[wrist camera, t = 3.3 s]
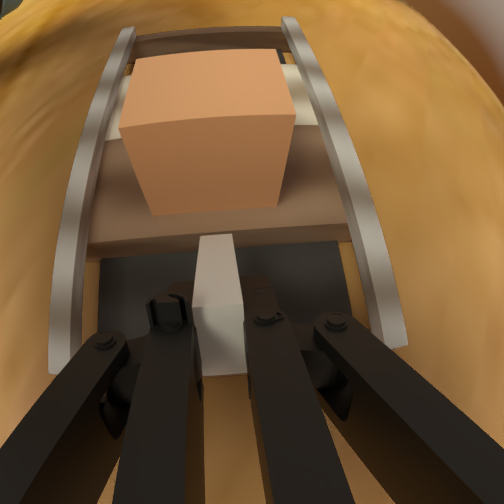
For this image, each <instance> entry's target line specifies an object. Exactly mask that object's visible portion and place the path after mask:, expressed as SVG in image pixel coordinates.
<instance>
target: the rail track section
mask: <svg viewBox="0 0 504 504" xmlns="http://www.w3.org/2000/svg"><path fill="white" fill-rule="evenodd" d="M230 49H276V52H277V55H278V58H279V61H280V64H281V67H282V70H283V73H284V76H285V79H286V82H287V86H288V89H289V92H290V95H291V98H292V102H293V105H294V108H295V112H296V119H295V123H294V128H293V133H292V138H291V143H290V147H289V152H288V157H287V162H286V166H285V171H284V176H283V181H282V185H281V190H280V195H279V199H278V204H277V207H263V208H248V209H233V210H219V211H206V212H194V213H182V214H171V215H160V216H152V213H151V211H150V209H149V206H148V204H147V201H146V199H145V197H144V194H143V192H142V189H141V187H140V184H139V182H138V179H137V177H136V174H135V172H134V169H133V167H132V164H131V161H130V159H129V156H128V154H127V151H126V148H125V146H124V143H123V140H122V138H121V135H120V132H119V130H118V126H119V122H120V117H121V113H122V109H123V105H124V101H125V97H126V93H127V89H128V86H129V82H130V79H131V75H129V76H124V77H123V73H124V70H125V67H126V64H128V63H133V62H135V61H136V59H140V58H147V57H154V56H161V55H169V54H177V53H187V52H198V51H211V50H230ZM282 52H292V55H293V57H294V60H295V62H296V65H294V64H286V62H285V60H284V57H283V54H282ZM220 234H232V237H233V244H234V250H235V256H236V262H237V269H238V275H239V277H241V276H253V275H263V276H265V277H266V278H267V279H269V280H270V283H271V286H272V289H273V291H274V294H275V297H276V300H277V303H278V306H279V308H280V310H281V311H283V312H285V314H286V315H287V316H288V319H289V321H291V322H294V323H298V324H305V325H314V321H315V319H316V318H317V317H318V316H319V315H322V314H324V313H329V312H341V313H344V314H348V315H350V316H352V311H351V306H350V301H349V296H348V290H347V285H346V281H345V276H344V271H343V266H342V261H341V257H340V252H339V248H338V243H339V242H352V243H353V247H354V251H355V255H356V260H357V264H358V268H359V273H360V277H361V282H362V286H363V291H364V296H365V301H366V306H367V311H368V316H369V322H370V327H371V329H368V330H369V331H370V332H371V333H372V334H373V335H375V336H376V337H377V338H378V339H379V340H380V341H382V342H383V343H384V344H385V345H386V346H387V347H389V348H390V349H391V350H394V349H397V348H400V347H403V346H406V345H409V344H408V339H407V333H406V328H405V323H404V318H403V313H402V309H401V304H400V299H399V295H398V291H397V286H396V282H395V278H394V274H393V270H392V266H391V262H390V258H389V255H388V251H387V247H386V244H385V240H384V236H383V233H382V229H381V226H380V223H379V219H378V216H377V213H376V210H375V206H374V203H373V200H372V197H371V194H370V191H369V188H368V185H367V182H366V179H365V176H364V173H363V170H362V168H361V165H360V162H359V159H358V156H357V154H356V151H355V148H354V146H353V143H352V140H351V138H350V135H349V133H348V130H347V128H346V125H345V123H344V120H343V118H342V115H341V113H340V111H339V108H338V106H337V104H336V101H335V99H334V97H333V94H332V92H331V90H330V87H329V85H328V83H327V81H326V79H325V76H324V74H323V72H322V70H321V68H320V66H319V64H318V62H317V60H316V57H315V55H314V53H313V51H312V49H311V47H310V45H309V43H308V41H307V39H306V38H305V36H304V34H303V32H302V30H301V28H300V26H299V24H298V22H297V20H296V19H295V17H282V21H281V27H276V26H233V27H211V28H197V29H186V30H177V31H169V32H161V33H154V34H147V35H141V36H136V31H135V26H133V27H128V28H123V29H122V30H121V32H120V34H119V37H118V39H117V41H116V43H115V45H114V48H113V50H112V52H111V54H110V57H109V59H108V62H107V64H106V66H105V69H104V71H103V74H102V76H101V79H100V82H99V84H98V87H97V90H96V92H95V95H94V98H93V101H92V103H91V106H90V109H89V112H88V115H87V118H86V121H85V125H84V128H83V131H82V134H81V138H80V141H79V145H78V148H77V152H76V155H75V159H74V163H73V167H72V171H71V175H70V179H69V183H68V188H67V192H66V197H65V202H64V207H63V212H62V217H61V222H60V228H59V234H58V241H57V247H56V254H55V262H54V270H53V279H52V289H51V302H50V317H49V345H48V371H49V374H54V375H58V374H59V373H60V372H61V370H62V369H63V368H64V367H65V365H66V364H67V363H68V362H69V361H70V360H71V358H72V357H73V356H74V355H75V354H76V352H77V351H78V350H79V349H80V348H81V335H82V302H83V285H84V272H85V262H94V261H101V266H100V282H99V305H98V332H100V331H104V330H117V331H120V332H122V333H123V334H124V335H125V337H126V341H127V340H131V339H135V338H139V337H142V336H145V335H147V334H148V333H149V330H150V324H149V320H148V315H147V311H146V306H145V303H146V302H147V300H148V299H149V298H151V297H153V296H154V295H157V294H160V293H165V292H167V288H169V287H170V286H171V285H172V284H173V283H174V282H186V281H195V274H196V266H197V258H198V250H199V242H200V236H206V235H220ZM236 375H247V373H240V374H228V375H214V376H203V374H202V378H210V377H224V376H236Z"/></svg>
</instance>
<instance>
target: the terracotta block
mask: <svg viewBox="0 0 504 504" xmlns="http://www.w3.org/2000/svg"><path fill="white" fill-rule="evenodd" d="M295 119H296V112H295V108H294V105H293V102H292V98H291V95H290V92H289V89H288V86H287V82H286V79H285V76H284V73H283V70H282V67H281V64H280V61H279V58H278V55H277V52H276V49H230V50H211V51H198V52H187V53H177V54H169V55H161V56H154V57H147V58H140V59H136V61H135V65H134V68H133V72H132V75H131V79H130V82H129V86H128V89H127V93H126V97H125V101H124V105H123V109H122V113H121V117H120V122H119V126H118V130H119V132H120V135H121V138H122V140H123V143H124V146H125V148H126V151H127V154H128V156H129V159H130V161H131V164H132V167H133V169H134V172H135V174H136V177H137V179H138V182H139V184H140V187H141V189H142V192H143V194H144V197H145V199H146V201H147V204H148V206H149V209H150V211H151V213H152V216H160V215H171V214H182V213H194V212H206V211H219V210H233V209H248V208H263V207H277V204H278V199H279V195H280V190H281V185H282V181H283V176H284V171H285V166H286V162H287V157H288V152H289V147H290V143H291V138H292V133H293V128H294V123H295Z"/></svg>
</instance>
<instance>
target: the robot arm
mask: <svg viewBox="0 0 504 504" xmlns="http://www.w3.org/2000/svg"><path fill="white" fill-rule="evenodd" d="M22 1H23V0H0V20H1V19H2V17H4V16H5V15H7V14H9V13H10V12H12V11H13V10H15V9H16V8H17V7H19V6H20V4H21V3H22ZM145 306H146V311H147V315H148V320H149V324H150V330H149V333H148V334H147V335H145V336H142V337H139V338H135V339H131V340H127V341H126V337H125V335H124V334H123V333H122V332H120V331H117V330H104V331H100V332H98V333H96V334H94V335H92V336H91V337H90V338H89V339H88V340H87V341H86V342H85V343H84V344H83V345H82V347H81V348H80V349H79V350H78V351H77V352H76V354H75V355H74V356H73V357H72V358H71V360H70V361H69V362H68V363H67V364H66V365H65V367H64V368H63V369H62V370H61V372H60V373H59V374H58V375H57V376H56V378H55V379H54V380H53V381H52V382H51V384H50V385H49V386H48V387H47V389H46V390H45V391H44V392H43V394H42V395H41V396H40V397H39V399H38V400H37V401H36V402H35V404H34V405H33V406H32V407H31V409H30V410H29V411H28V413H27V414H26V415H25V416H24V418H23V419H22V420H21V422H20V423H19V424H18V426H17V427H16V428H15V430H14V431H13V432H12V434H11V435H10V436H9V438H8V439H7V440H6V442H5V443H4V444H3V446H2V447H1V448H0V504H97V502H98V500H99V498H100V496H101V493H102V491H103V489H104V487H105V485H106V483H107V481H108V479H109V477H110V475H111V473H112V471H113V469H114V467H115V465H116V463H117V461H118V459H119V457H120V460H119V466H118V471H117V477H116V483H115V489H114V495H113V502H112V504H205V477H204V408H203V398H204V387H203V381H202V374H203V376H214V375H228V374H240V373H247V375H248V390H249V399H250V400H251V407H252V414H253V421H254V428H255V434H256V441H257V448H258V454H259V461H260V467H261V473H262V480H263V486H264V492H265V498H266V504H355V501H354V499H353V496H352V493H351V490H350V487H349V484H348V482H347V479H346V476H345V473H344V470H343V467H342V465H341V462H340V459H339V456H338V453H337V451H336V448H335V445H334V442H333V439H332V437H331V434H330V431H329V428H328V426H327V423H326V420H325V417H324V414H323V412H322V409H323V410H324V412H325V413H326V415H327V416H328V417H329V419H330V420H331V421H332V422H333V424H334V425H335V426H336V428H337V429H338V430H339V432H340V433H341V434H342V436H343V437H344V438H345V440H346V441H347V442H348V444H349V445H350V446H351V447H352V449H353V450H354V451H355V453H356V454H357V455H358V457H359V458H360V459H361V460H362V462H363V463H364V464H365V466H366V467H367V468H368V469H369V471H370V472H371V473H372V475H373V476H374V477H375V478H376V480H377V481H378V482H379V483H380V485H381V486H382V487H383V488H384V490H385V491H386V492H387V493H388V495H389V496H390V497H391V498H392V500H393V501H394V502H395V503H396V504H504V449H503V448H502V447H501V446H500V445H499V444H498V443H497V442H496V441H494V440H493V439H492V438H491V437H490V436H489V435H488V434H487V433H485V432H484V431H483V430H482V429H481V428H480V427H479V426H478V425H477V424H475V423H474V422H473V421H472V420H471V419H470V418H469V417H468V416H466V415H465V414H464V413H463V412H462V411H461V410H460V409H459V408H457V407H456V406H455V405H454V404H453V403H452V402H451V401H449V400H448V399H447V398H446V397H445V396H444V395H443V394H441V393H440V392H439V391H438V390H437V389H436V388H435V387H433V386H432V385H431V384H430V383H429V382H428V381H427V380H425V379H424V378H423V377H422V376H421V375H420V374H419V373H417V372H416V371H415V370H414V369H413V368H412V367H411V366H409V365H408V364H407V363H406V362H405V361H404V360H402V359H401V358H400V357H399V356H398V355H397V354H396V353H394V352H393V351H392V350H391V349H390V348H389V347H387V346H386V345H385V344H384V343H383V342H382V341H380V340H379V339H378V338H377V337H376V336H375V335H373V334H372V333H371V332H370V331H369V330H368V329H366V328H365V327H364V326H363V325H362V324H361V323H359V322H358V321H357V320H356V319H355V318H353V317H352V316H350V315H348V314H344V313H341V312H329V313H324V314H322V315H319V316H318V317H317V318H316V319H315V321H314V325H305V324H298V323H294V322H291V321H289V319H288V316H287V315H286V314H285V312H283V311H281V310H280V308H279V306H278V303H277V300H276V297H275V294H274V291H273V289H272V286H271V283H270V280H269V279H267V278H266V277H265V276H263V275H253V276H241V277H239V275H238V269H237V262H236V256H235V250H234V244H233V237H232V234H220V235H206V236H200V242H199V250H198V258H197V266H196V274H195V281H186V282H174V283H173V284H172V285H171V286H170V287H169V288H167V292H165V293H160V294H157V295H154V296H153V297H151V298H149V299H148V300H147V302H146V303H145ZM321 408H322V409H321Z"/></svg>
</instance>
